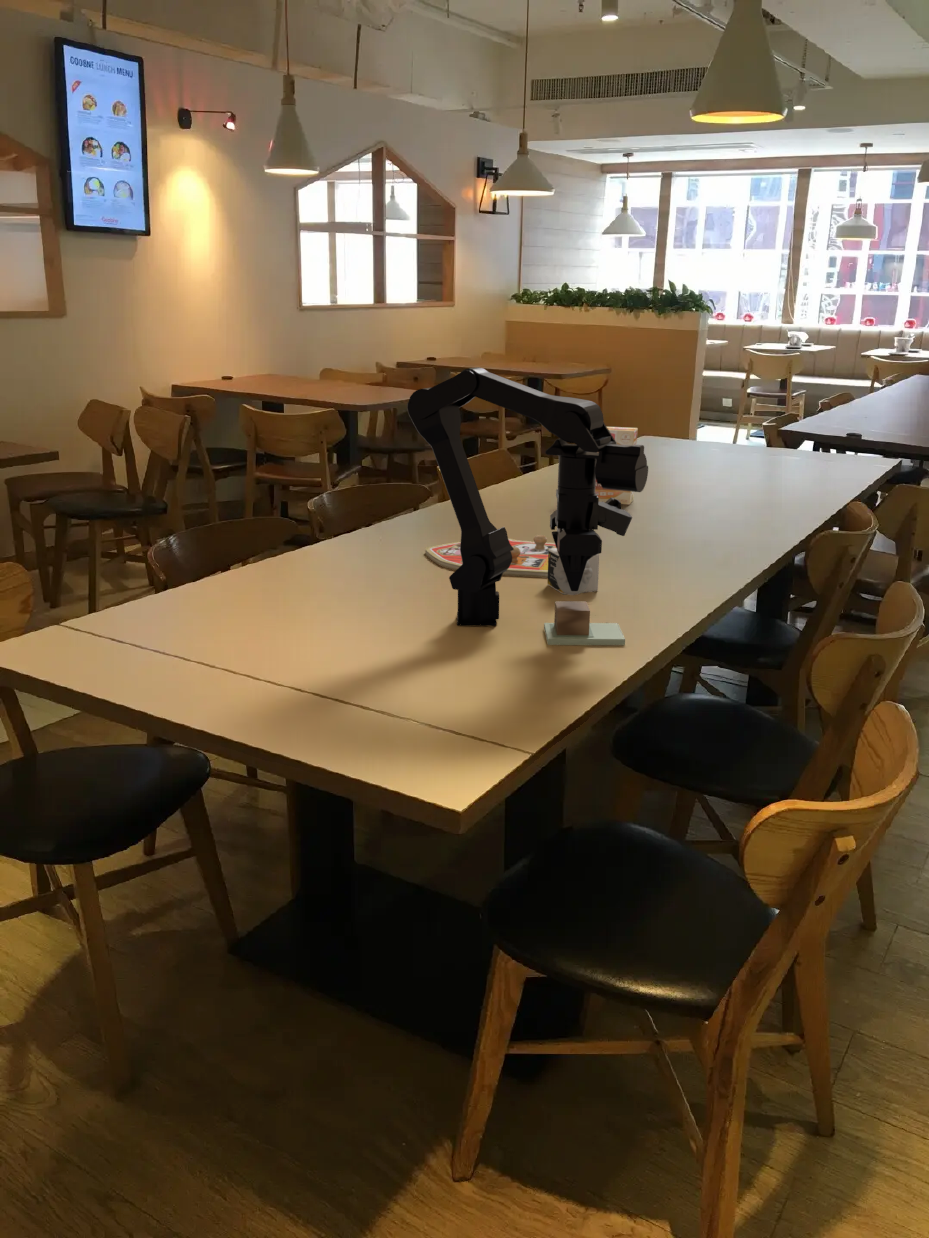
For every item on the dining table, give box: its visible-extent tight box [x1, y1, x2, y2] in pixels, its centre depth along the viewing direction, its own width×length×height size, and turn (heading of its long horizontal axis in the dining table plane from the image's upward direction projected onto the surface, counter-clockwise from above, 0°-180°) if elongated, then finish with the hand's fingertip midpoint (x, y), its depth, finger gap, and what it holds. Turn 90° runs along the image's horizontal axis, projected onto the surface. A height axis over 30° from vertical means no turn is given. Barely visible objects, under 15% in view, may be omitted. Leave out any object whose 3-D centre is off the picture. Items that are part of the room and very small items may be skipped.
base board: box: [543, 622, 626, 646], centre depth 157 cm, size 12×8×1 cm, turn 90°
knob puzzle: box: [424, 534, 556, 579], centre depth 205 cm, size 29×30×4 cm
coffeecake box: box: [595, 426, 639, 506], centre depth 262 cm, size 15×7×20 cm, turn 73°
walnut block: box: [553, 600, 591, 635], centre depth 156 cm, size 5×5×4 cm
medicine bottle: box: [547, 548, 600, 596], centre depth 182 cm, size 7×7×12 cm
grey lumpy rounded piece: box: [553, 557, 592, 596], centre depth 154 cm, size 6×7×7 cm
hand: (572, 584), depth 155 cm, fingers closed on grey lumpy rounded piece, 7 cm apart
